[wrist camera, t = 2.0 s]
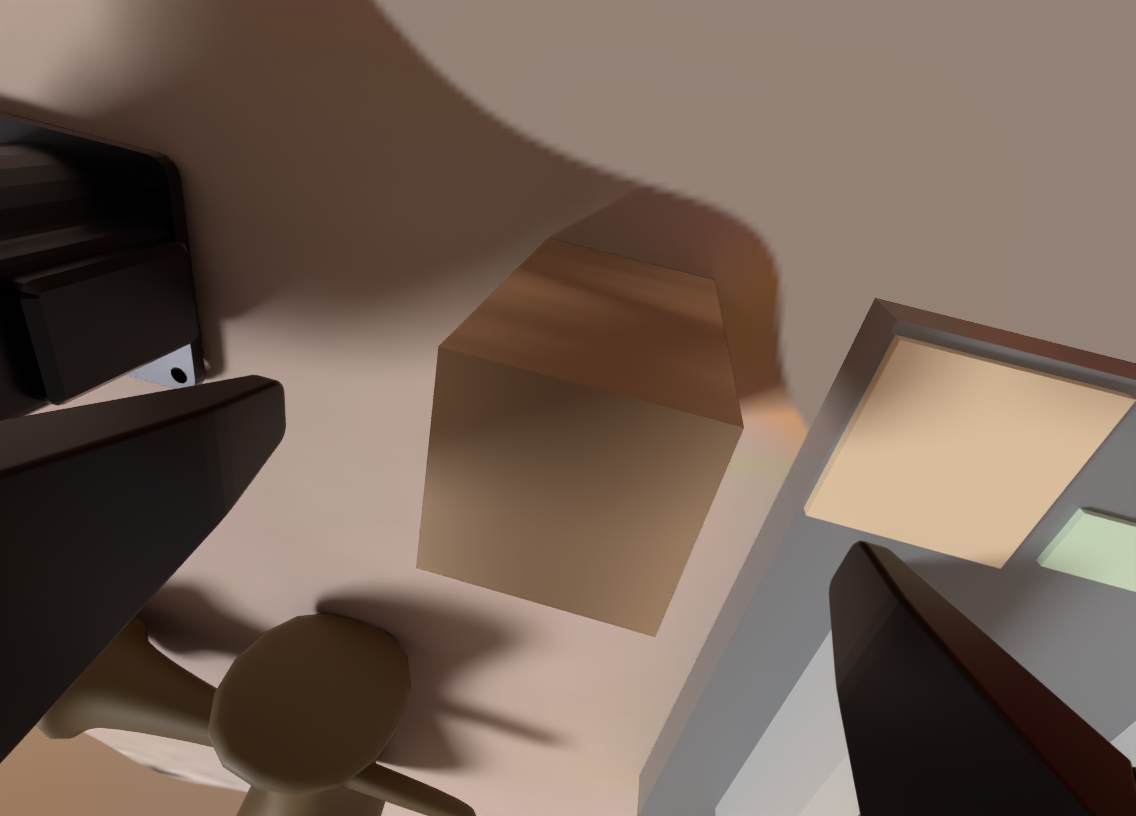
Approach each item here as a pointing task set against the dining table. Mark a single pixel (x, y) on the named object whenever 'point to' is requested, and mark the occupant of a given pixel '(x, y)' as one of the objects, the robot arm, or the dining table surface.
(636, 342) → the walnut block
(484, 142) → the dining table surface
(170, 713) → the kendama
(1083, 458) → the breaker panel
